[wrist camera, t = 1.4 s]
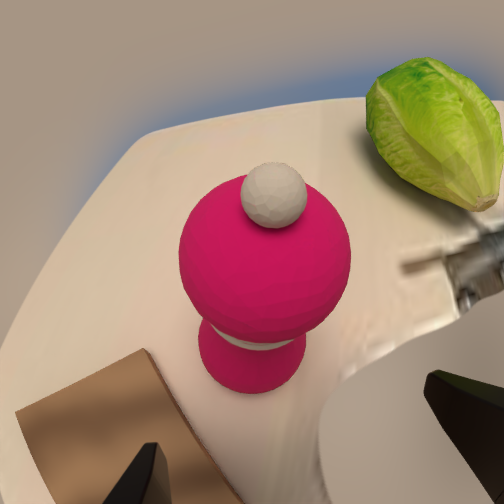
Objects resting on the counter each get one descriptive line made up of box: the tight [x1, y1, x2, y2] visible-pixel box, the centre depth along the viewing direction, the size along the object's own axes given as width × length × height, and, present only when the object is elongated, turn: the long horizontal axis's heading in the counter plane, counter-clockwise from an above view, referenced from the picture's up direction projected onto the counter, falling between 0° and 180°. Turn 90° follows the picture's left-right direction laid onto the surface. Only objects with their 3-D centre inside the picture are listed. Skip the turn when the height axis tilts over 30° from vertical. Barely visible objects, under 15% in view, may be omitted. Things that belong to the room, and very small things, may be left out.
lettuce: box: [366, 57, 504, 212], centre depth 31 cm, size 17×20×15 cm
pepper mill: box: [179, 163, 351, 394], centre depth 16 cm, size 7×7×20 cm
